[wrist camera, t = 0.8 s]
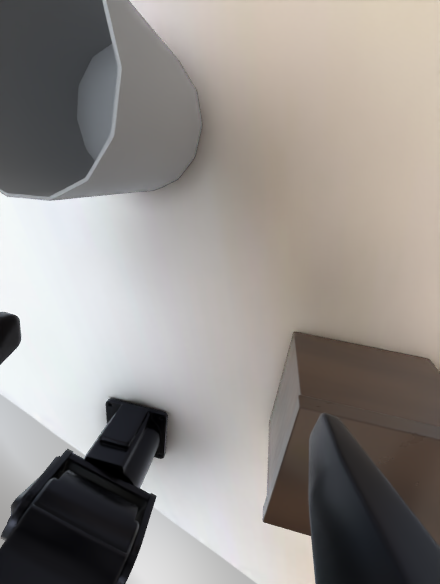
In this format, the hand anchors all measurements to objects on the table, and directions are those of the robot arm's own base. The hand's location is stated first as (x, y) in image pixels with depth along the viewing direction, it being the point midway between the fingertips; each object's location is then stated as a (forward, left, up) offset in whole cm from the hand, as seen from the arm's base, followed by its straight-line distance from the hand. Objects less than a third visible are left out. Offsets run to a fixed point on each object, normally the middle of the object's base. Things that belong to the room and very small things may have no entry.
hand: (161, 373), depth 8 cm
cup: (+8, +7, -14) cm, 17 cm away
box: (-10, -11, -14) cm, 20 cm away
